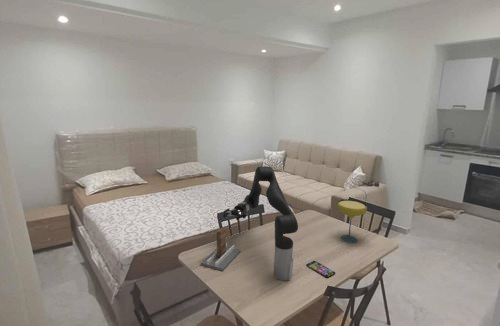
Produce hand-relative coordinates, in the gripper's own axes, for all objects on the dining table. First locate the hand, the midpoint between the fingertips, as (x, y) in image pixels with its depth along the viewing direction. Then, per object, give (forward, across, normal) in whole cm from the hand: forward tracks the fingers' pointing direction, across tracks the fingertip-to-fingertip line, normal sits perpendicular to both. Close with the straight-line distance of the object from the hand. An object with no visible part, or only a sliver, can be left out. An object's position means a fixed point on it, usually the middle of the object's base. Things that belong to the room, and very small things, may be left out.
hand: (230, 217), depth 168 cm
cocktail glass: (-46, +66, +22) cm, 83 cm away
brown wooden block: (+10, 0, +20) cm, 23 cm away
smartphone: (-2, +54, +22) cm, 59 cm away
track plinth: (+10, 0, +21) cm, 24 cm away
